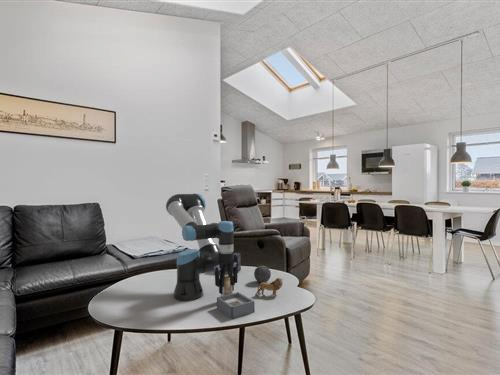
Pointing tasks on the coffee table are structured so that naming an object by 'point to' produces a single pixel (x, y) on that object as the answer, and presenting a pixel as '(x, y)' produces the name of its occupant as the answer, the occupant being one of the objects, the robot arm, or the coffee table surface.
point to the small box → (237, 261)
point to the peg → (226, 285)
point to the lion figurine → (270, 286)
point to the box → (235, 305)
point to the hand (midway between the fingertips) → (226, 298)
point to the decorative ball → (262, 274)
